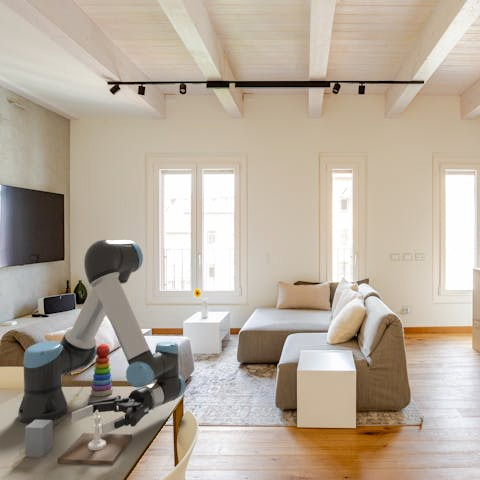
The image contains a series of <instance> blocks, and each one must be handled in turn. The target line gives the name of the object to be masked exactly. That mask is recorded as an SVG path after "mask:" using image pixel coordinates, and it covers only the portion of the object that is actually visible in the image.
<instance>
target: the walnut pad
mask: <svg viewBox="0 0 480 480" xmlns="http://www.w3.org/2000/svg"><path fill="white" fill-rule="evenodd" d="M94 436H95V432H94V433H91V432H84V433H82V434H81V435H80V436H79V437H78V438H77V439H76V440H75V441H74V442H73V443H72V444H70V446H69V447H68V448H67V449H66V450H64V452H63V453H62V454H61V455H60V456H59V457H58V458H57V464H77V463H84V464H83V465H106V466H107V465H109V466H110V465H111V466H113V465H114V464H115V463H116V462H117V460H118V458H119V457H120V456H121V455H122V453H123V451H124V450H125V449H126V447H127V446H128V444H129V443H130V442H131V440H132V439H133V434H127V433H125V434H124V433H122V434H121V433H107V434H105V435H103V434H102V433H100V438H101V439H103V440H105V441H106V446H105V447H104V448H102V449H99V450H90V449H88V444H89V443H90V442H91V441H93V440H94Z"/></svg>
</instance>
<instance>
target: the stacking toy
mask: <svg viewBox="0 0 480 480" xmlns="http://www.w3.org/2000/svg"><path fill="white" fill-rule="evenodd" d="M96 350H97V353H96V357H95V362H96V363H94V369H93V371H94V373H93V379H92V384H91V390H90V394H91V395H92V396H94V397H104V396H109V395H111V394H112V393H113V390H114V389H113V383H112V380H113V379H112V377H111V376H112V372H111V367H110V364H111V363H110V357H109V356H108V355H109V354H110V347H109V346H108V345H107V344H105V343H104V344H103V343H102V344H99V345H98V346H96Z"/></svg>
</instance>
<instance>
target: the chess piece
mask: <svg viewBox="0 0 480 480" xmlns="http://www.w3.org/2000/svg"><path fill="white" fill-rule="evenodd" d="M94 414H95V416H93V417H92V418H93V421H94V424H93V426H92V427H93V428H94V433H95V436H94V440H93V441H91V442H90V443H89V444H88V449H90V450H99V449H102V448H104V447H105V446H106V441H105V440H103V439H101V438H100V434H101V433H100V428H102V424H101V423H100V421H101V419H102V417H101V415H100V412H98V410H96V412H95V413H94Z"/></svg>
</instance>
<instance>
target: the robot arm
mask: <svg viewBox="0 0 480 480" xmlns="http://www.w3.org/2000/svg"><path fill="white" fill-rule="evenodd" d="M83 259H84V260H83V263H84V264H83V265H84V272H85V276H86V279H87V282H88V283H89V286H90V287H91V288H90V290H89V293H88V295H87V297H86V298H85V301H84V303H83V305H82V307H81V310H80V312H79V313H78V315H77V317H76V319H75V321H74V323H73V326H72V328H70V329H67V330H66V331H65V333H64V335H63V337H62V339H61V341H59V340H58V341H57V340H46V341H43V342H42V341H41V342H37V343H34V344H33V345H30V346H29V347H28V348H26V350H25V351H24V354H23V361H22V364H23V397H22V399H21V402H20V406H19V408H18V411H17V412H18V417H17V419H18V420H19V422H22V423H26V424H30V423H32V422H33V421H34V420H52V421H54V420H56V419H59V418H61V417H63V416H65V415H66V414H67V413H68V409H69V408H68V401H67V399H66V395H65V393H64V390H63V384H62V383H63V377H64V376H67V375H70V374H72V373H75V372H78V371H80V370H83V369H84V368H86V367H88V366H89V365H91V364H92V363H93V362H94V361H95V360H96V358H97V354H96V353H97V350H96V348H97V339H96V338H95V337H96V336H97V334H98V331H99V329H100V327H101V326H102V323H103V321H104V319H105V317H106V316H107V318H108V320H109V323H110V325H111V327H112V329H113V331H114V334H115V336H116V338H117V340H118V342H119V345H120V348H121V349H122V352H123V354H124V356H125V359H126V361H127V363H128V367H127V368H126V371H125V373H126V374H125V375H126V376H125V377H126V380H127V382H128V384H129V385H130V386H132V387H133V388H136V389H134V390H132V391H131V392H130V393H129V395H128V397H123V398H122V396H121V395H116V396H113V397H108V398H107V397H106V398H103V399H102V398H101V399H97V400H92V401H91V400H90V401H88V402H87V406H85V407H82V408H80V409H77V410H75V411H71V423H76V422H78V421H81V420H82V419H86V418H88V417H90V416H93V415H94V414H95V412H96V410H98V413H104V412H114V413H121V412H122V413H124V415H119V416H117V417H115V418H113V419H111V420H107V421H106V422H104V423H102V424H101V434H103V435H105V434H110V433H111V432H114V431H115V430H117V429H120V428H123V427H124V426H125V427H127V426H131V427H132V428H133V427H135V426H137V424H139V422H140V421H141V420H142V419H143V418H144V416H146V415H148V414H149V413H150V412H149V411H151V410H152V411H153V410H155V408H158V407H161V406H163V405H164V404H165V405H166V404H168V403H169V402H172V401H175V400H176V399H178V398H180V397H181V396H183V395H184V394H185V392H186V389H187V384H186V382H185V379H184V378H183V376H182V375H180V374H179V372H180V370H179V368H180V367H179V364H180V363H179V361H180V360H179V359H180V352H179V345H178V343H176V342H175V341H168V340H167V341H161V342H157V343H156V345H155V350H154V351H155V352H154V353H152V350H151V349H150V347H149V344H148V342H147V340H146V337H145V335H144V333H143V331H142V328H141V327H140V324H139V321H138V319H137V317H136V315H135V312H134V311H133V309H132V306H131V304H130V302H129V300H128V298H127V295H126V293H125V291H124V288H123V287H122V285H124V284H126V283H128V281H129V278H130V277H131V275H132V273H135V272H136V271H138V270H139V269H140V268H141V267H142V266H143V262H144V256H143V252H142V249H141V247H140V246H139V244H137V243H136V242H135V241H133V240H127V239H101V240H97V241H95V242H93V243H92V244H91V245H90V246H88V248H87V250H86V252H85V255H84V258H83Z"/></svg>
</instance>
